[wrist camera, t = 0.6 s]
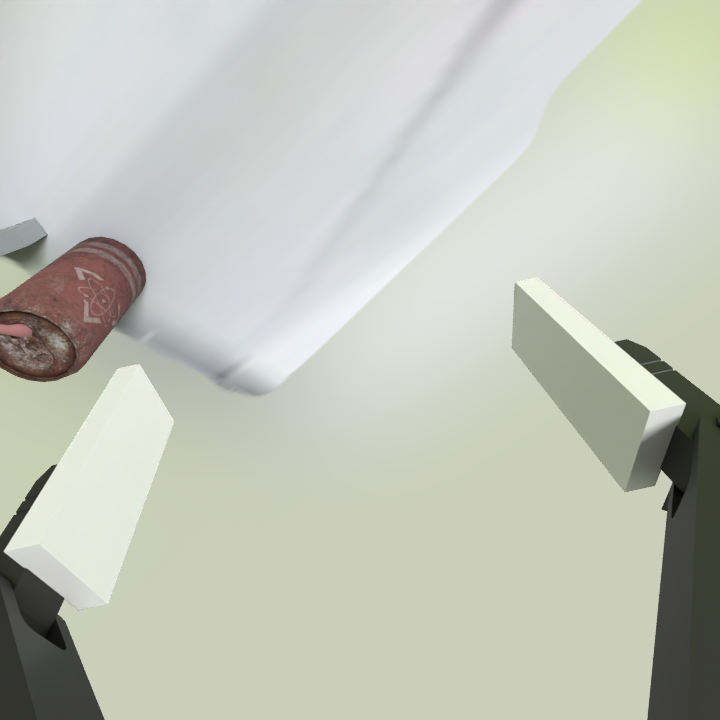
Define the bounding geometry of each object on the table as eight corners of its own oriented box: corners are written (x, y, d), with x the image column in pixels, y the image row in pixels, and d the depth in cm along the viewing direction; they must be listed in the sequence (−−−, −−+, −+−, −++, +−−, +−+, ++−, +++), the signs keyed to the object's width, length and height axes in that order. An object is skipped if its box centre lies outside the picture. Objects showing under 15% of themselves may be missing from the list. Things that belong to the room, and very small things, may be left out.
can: (81, 220, 35) (-25, 286, 24) (156, 257, 38) (93, 333, 26) (63, 277, 38) (-42, 362, 26) (135, 308, 40) (68, 399, 29)
